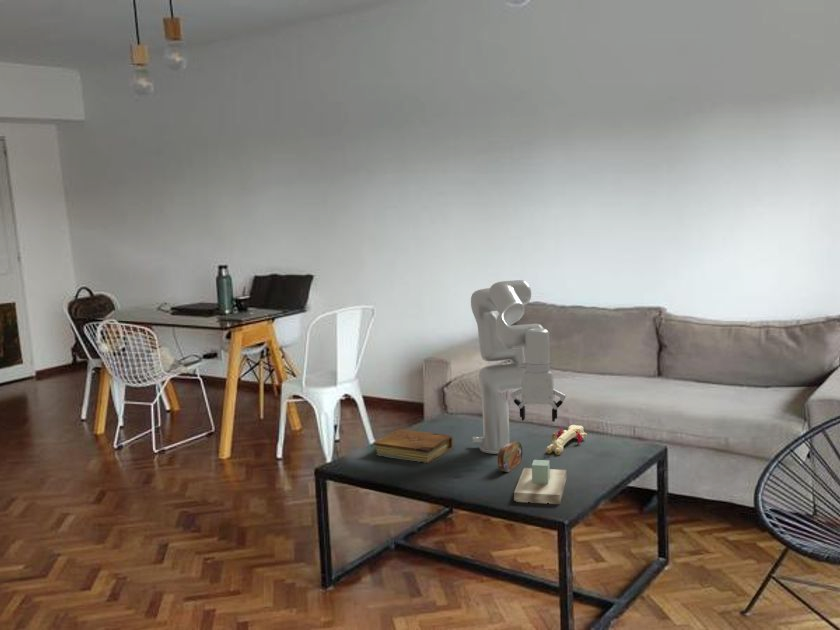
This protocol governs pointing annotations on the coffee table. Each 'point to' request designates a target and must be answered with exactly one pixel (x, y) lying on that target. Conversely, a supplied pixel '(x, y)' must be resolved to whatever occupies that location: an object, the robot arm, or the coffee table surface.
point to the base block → (540, 488)
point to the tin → (509, 456)
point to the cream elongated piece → (565, 438)
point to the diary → (414, 445)
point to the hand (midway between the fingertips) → (538, 419)
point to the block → (541, 471)
